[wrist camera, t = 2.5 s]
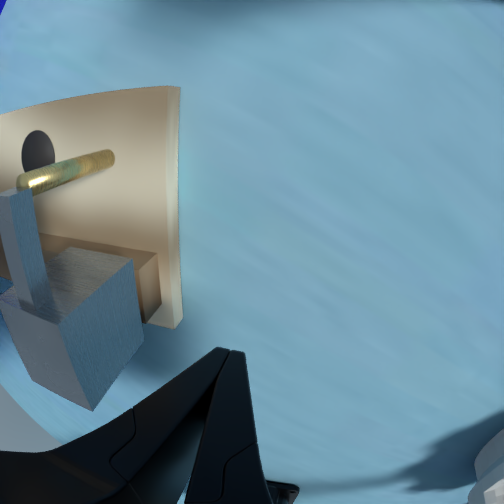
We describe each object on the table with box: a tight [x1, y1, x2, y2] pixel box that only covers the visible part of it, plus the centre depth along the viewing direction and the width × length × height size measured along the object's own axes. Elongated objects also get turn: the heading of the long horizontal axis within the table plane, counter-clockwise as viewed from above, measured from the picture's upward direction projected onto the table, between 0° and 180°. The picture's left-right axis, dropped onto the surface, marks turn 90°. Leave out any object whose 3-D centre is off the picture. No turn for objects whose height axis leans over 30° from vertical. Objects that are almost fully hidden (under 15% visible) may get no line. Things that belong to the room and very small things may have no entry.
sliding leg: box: [0, 149, 145, 412], centre depth 9 cm, size 7×3×5 cm, turn 177°
